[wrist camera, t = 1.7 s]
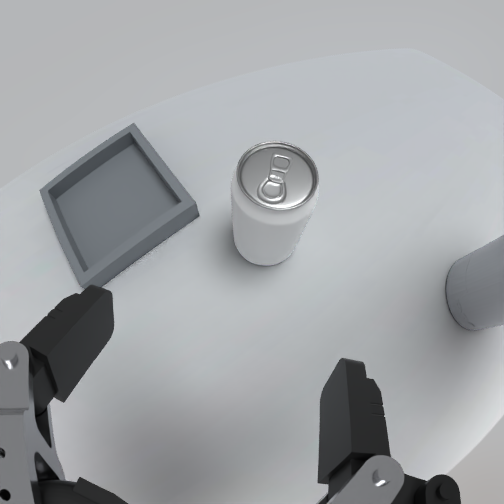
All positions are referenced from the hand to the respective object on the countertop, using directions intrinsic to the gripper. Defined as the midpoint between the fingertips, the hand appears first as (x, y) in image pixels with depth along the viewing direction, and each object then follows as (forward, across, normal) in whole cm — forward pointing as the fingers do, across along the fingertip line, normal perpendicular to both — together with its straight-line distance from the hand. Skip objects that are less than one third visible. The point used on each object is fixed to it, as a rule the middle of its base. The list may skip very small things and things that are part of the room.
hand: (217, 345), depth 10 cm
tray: (+21, +17, +6) cm, 28 cm away
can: (+22, 0, +5) cm, 23 cm away
